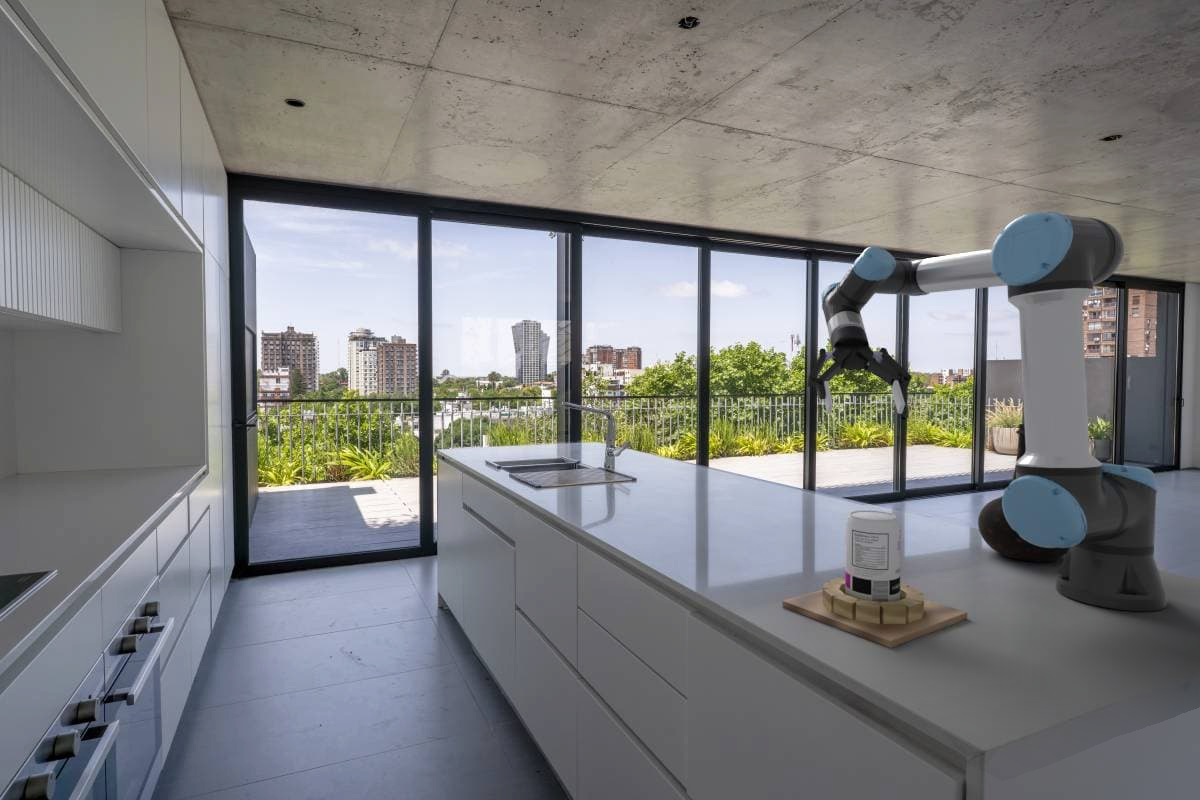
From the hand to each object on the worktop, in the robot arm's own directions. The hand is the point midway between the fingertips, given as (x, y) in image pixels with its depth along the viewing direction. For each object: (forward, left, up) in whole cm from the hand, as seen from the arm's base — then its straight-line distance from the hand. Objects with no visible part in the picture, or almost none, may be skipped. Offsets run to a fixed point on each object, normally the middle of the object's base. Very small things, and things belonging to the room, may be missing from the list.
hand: (865, 409), depth 131 cm
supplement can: (-16, +20, -31) cm, 40 cm away
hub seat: (-16, +21, -32) cm, 41 cm away
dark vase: (-14, -34, -32) cm, 49 cm away
